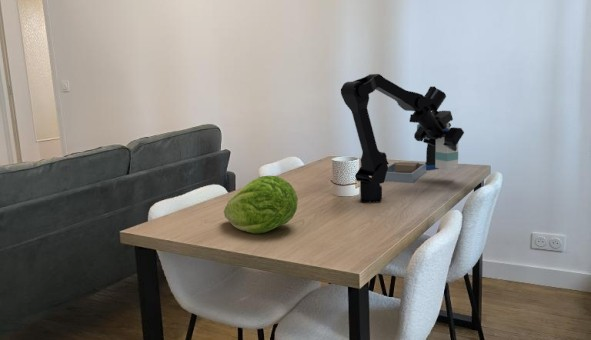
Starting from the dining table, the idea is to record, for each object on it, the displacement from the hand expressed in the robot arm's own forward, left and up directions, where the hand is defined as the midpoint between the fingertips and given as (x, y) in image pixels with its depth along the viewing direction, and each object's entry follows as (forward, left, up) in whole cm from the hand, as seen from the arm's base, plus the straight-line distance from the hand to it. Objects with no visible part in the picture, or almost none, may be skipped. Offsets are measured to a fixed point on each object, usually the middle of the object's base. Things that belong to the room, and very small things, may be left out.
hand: (449, 149), depth 182 cm
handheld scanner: (-2, +25, -13) cm, 28 cm away
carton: (-1, -1, -7) cm, 7 cm away
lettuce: (-59, -53, -13) cm, 80 cm away
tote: (-16, +10, -12) cm, 23 cm away
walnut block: (-14, +15, -12) cm, 24 cm away
